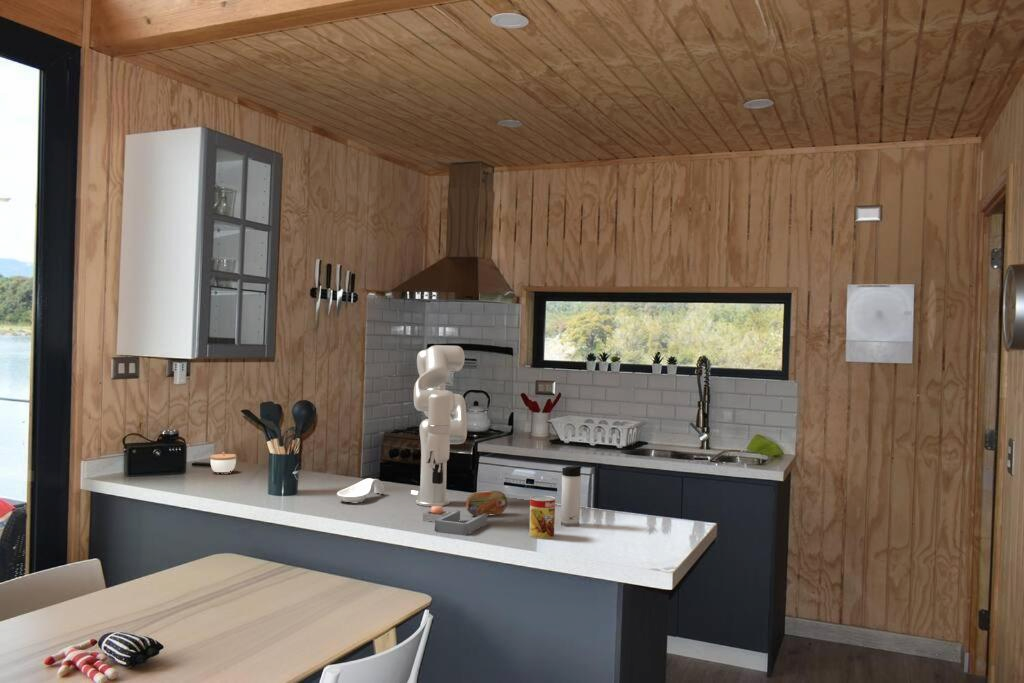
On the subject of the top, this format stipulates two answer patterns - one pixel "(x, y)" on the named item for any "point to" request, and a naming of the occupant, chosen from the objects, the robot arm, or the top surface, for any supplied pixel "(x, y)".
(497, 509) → the tin
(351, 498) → the spoon rest
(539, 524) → the canned food
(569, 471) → the travel mug
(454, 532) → the bay
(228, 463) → the lidded jar
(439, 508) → the button
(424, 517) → the switch box
